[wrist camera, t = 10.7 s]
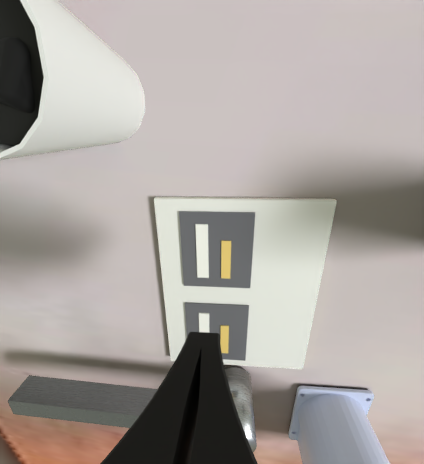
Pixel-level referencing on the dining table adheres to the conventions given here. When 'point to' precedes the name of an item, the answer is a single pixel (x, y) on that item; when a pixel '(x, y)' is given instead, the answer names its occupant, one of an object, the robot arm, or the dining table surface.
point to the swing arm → (113, 401)
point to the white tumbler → (61, 83)
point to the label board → (243, 273)
